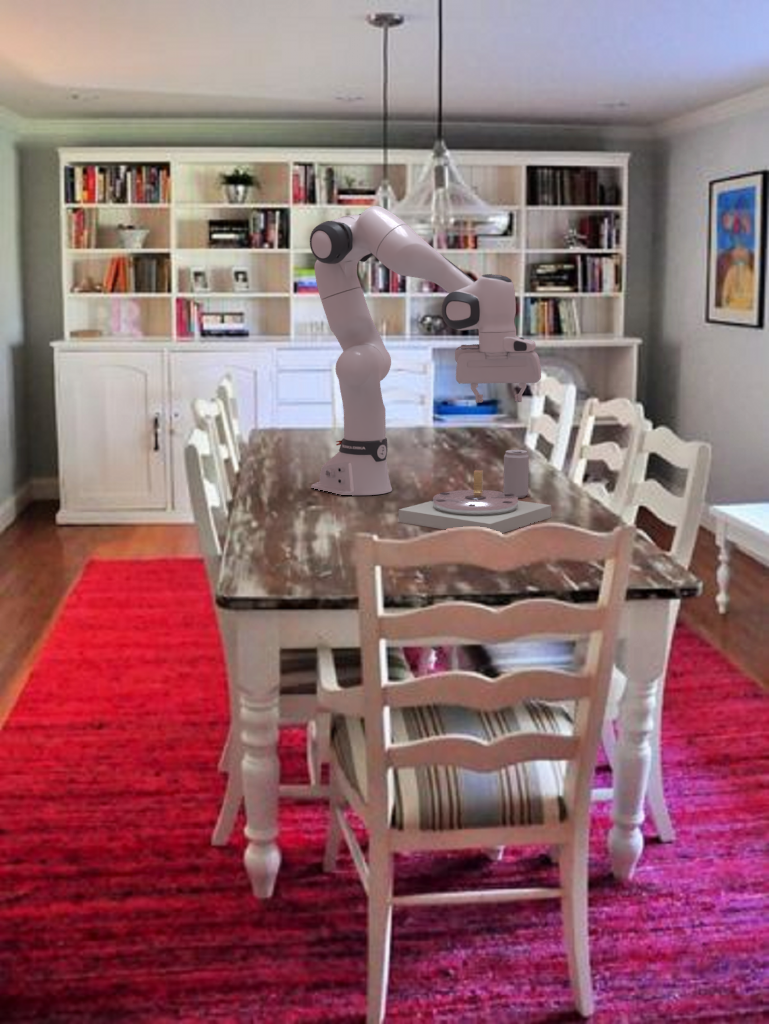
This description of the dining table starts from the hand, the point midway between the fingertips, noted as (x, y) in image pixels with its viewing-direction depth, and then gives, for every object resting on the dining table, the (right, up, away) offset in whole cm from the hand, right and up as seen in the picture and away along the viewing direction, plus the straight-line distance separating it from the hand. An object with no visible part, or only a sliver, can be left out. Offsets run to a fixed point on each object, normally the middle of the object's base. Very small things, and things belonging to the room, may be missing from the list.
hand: (498, 402), depth 289 cm
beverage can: (+7, -22, +26) cm, 35 cm away
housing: (-6, -28, -2) cm, 29 cm away
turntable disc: (-6, -25, -3) cm, 26 cm away
